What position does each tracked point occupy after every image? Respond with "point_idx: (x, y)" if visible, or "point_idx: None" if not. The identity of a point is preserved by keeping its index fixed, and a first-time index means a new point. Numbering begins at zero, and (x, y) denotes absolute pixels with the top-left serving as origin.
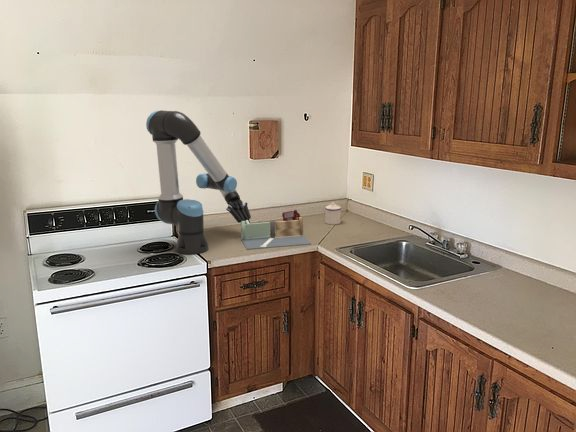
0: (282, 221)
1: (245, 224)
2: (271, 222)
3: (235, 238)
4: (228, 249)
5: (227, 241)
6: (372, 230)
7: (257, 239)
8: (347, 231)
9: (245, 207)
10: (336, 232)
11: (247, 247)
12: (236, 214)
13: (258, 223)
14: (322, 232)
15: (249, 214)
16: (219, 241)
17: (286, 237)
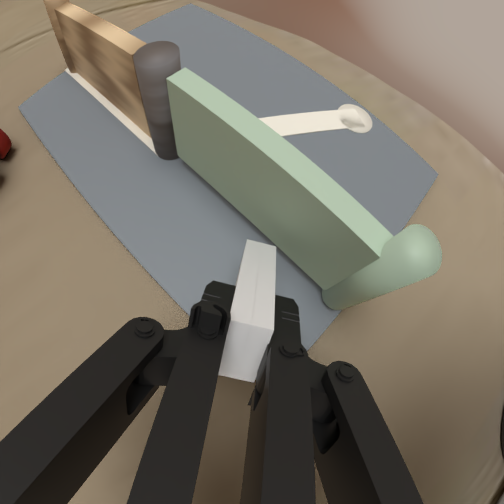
0: (109, 31)
1: (389, 234)
2: (179, 56)
3: None
4: (484, 262)
5: (403, 383)
6: (3, 5)
7: None
8: (8, 24)
9: (23, 501)
10: (18, 31)
11: (424, 181)
12: (391, 460)
13: (269, 130)
14: (18, 53)
15: (105, 357)
16: (425, 423)
17: None
